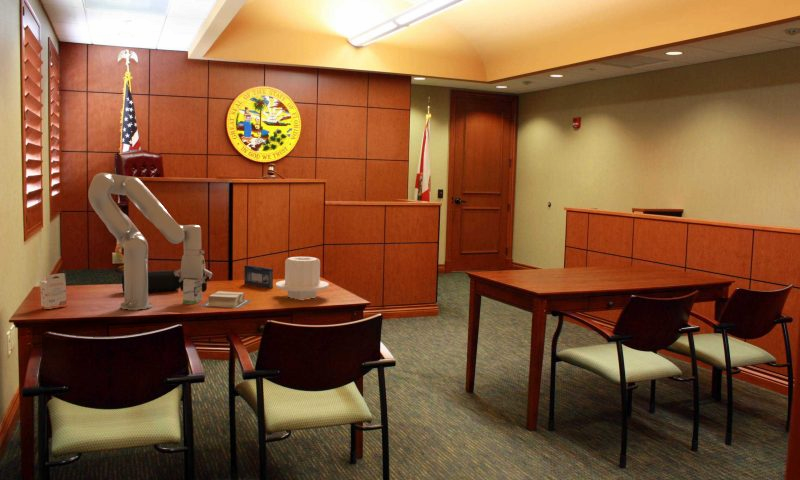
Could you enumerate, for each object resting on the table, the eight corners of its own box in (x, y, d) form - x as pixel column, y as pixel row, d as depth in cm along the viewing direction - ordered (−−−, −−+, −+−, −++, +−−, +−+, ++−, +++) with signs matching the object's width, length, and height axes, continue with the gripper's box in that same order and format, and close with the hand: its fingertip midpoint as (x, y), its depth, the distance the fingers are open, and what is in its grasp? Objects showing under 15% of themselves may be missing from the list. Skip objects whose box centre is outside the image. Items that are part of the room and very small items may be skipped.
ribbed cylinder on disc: (265, 296, 322) (265, 257, 320) (305, 290, 341) (306, 253, 338) (297, 305, 306) (298, 264, 303) (339, 298, 324) (340, 259, 322)
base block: (235, 306, 295) (235, 297, 294) (208, 305, 296) (208, 296, 295) (244, 301, 306) (244, 292, 306) (218, 299, 308) (218, 291, 307)
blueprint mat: (239, 310, 291) (239, 308, 291) (199, 308, 293) (199, 305, 293) (252, 302, 309) (252, 299, 309) (214, 300, 311) (214, 297, 311)
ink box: (192, 302, 306) (192, 276, 304) (202, 302, 304) (202, 277, 303) (182, 305, 297) (182, 279, 296) (193, 306, 296) (193, 280, 295)
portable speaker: (177, 288, 336) (176, 268, 335) (180, 292, 327) (180, 271, 326) (121, 291, 324) (121, 271, 323) (124, 295, 315) (124, 274, 314)
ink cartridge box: (60, 305, 290) (59, 271, 289) (66, 307, 288) (66, 272, 286) (40, 308, 283) (39, 274, 281) (47, 310, 281) (46, 275, 279)
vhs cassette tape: (243, 284, 353) (244, 265, 352) (248, 283, 355) (248, 264, 354) (268, 289, 342) (269, 269, 341) (273, 288, 345) (273, 268, 344)
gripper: (214, 252, 301) (215, 290, 303) (177, 251, 303) (178, 288, 305) (208, 254, 294) (208, 293, 296) (170, 253, 295) (171, 291, 298)
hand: (193, 290), depth 300 cm, fingers open, 9 cm apart
